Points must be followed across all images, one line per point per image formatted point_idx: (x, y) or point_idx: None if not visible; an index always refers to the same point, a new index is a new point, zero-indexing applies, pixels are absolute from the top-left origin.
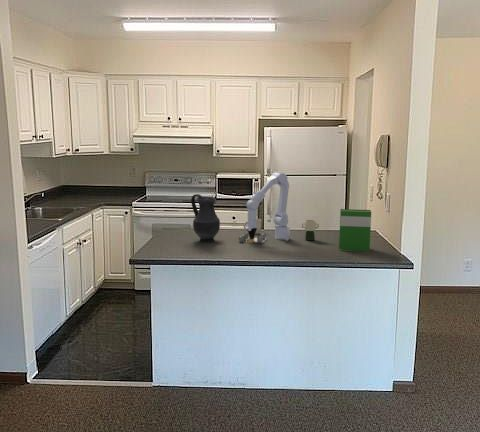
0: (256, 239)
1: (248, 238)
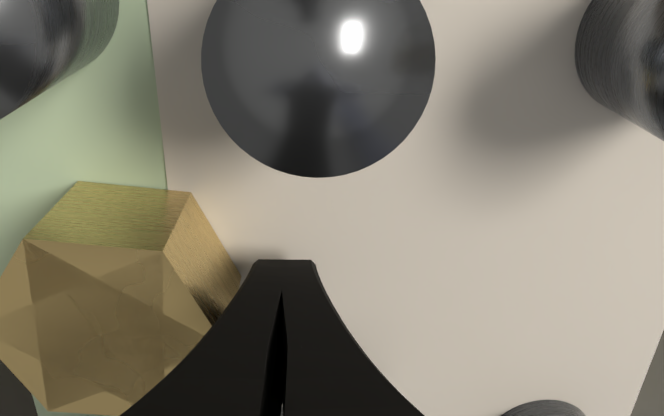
0: (494, 332)
1: (84, 278)
